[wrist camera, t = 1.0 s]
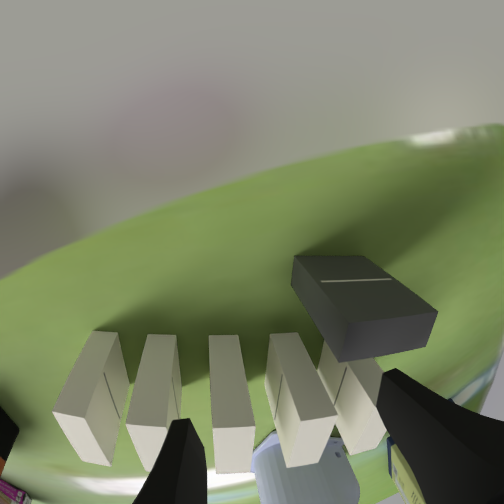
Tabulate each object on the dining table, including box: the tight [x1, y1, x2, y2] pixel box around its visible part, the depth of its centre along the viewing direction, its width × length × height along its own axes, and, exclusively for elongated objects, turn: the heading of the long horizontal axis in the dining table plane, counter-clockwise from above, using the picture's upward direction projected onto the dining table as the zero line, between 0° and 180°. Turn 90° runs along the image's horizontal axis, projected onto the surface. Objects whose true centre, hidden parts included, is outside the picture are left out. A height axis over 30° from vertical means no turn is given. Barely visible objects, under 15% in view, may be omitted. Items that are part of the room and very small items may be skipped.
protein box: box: [387, 398, 454, 504], centre depth 23 cm, size 10×16×16 cm
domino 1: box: [52, 331, 130, 466], centre depth 15 cm, size 2×5×8 cm, turn 177°
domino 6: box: [317, 340, 387, 455], centre depth 18 cm, size 2×5×8 cm, turn 177°
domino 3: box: [209, 335, 256, 474], centre depth 16 cm, size 2×5×8 cm, turn 177°
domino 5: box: [291, 256, 438, 363], centre depth 15 cm, size 2×5×8 cm, turn 87°
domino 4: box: [264, 332, 338, 468], centre depth 17 cm, size 2×5×8 cm, turn 177°
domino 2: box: [126, 334, 182, 472], centre depth 16 cm, size 2×5×8 cm, turn 177°
